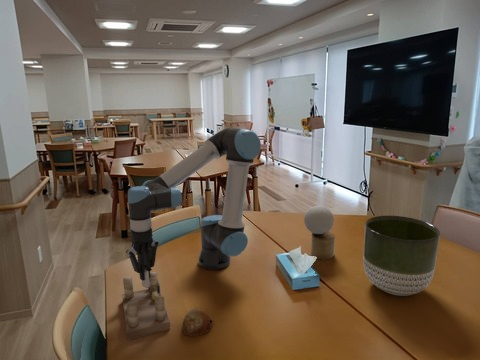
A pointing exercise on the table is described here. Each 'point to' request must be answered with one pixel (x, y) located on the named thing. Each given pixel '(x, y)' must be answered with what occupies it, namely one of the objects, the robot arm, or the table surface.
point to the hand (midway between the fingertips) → (145, 286)
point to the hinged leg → (153, 285)
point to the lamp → (320, 231)
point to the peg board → (143, 311)
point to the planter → (400, 253)
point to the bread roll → (196, 323)
